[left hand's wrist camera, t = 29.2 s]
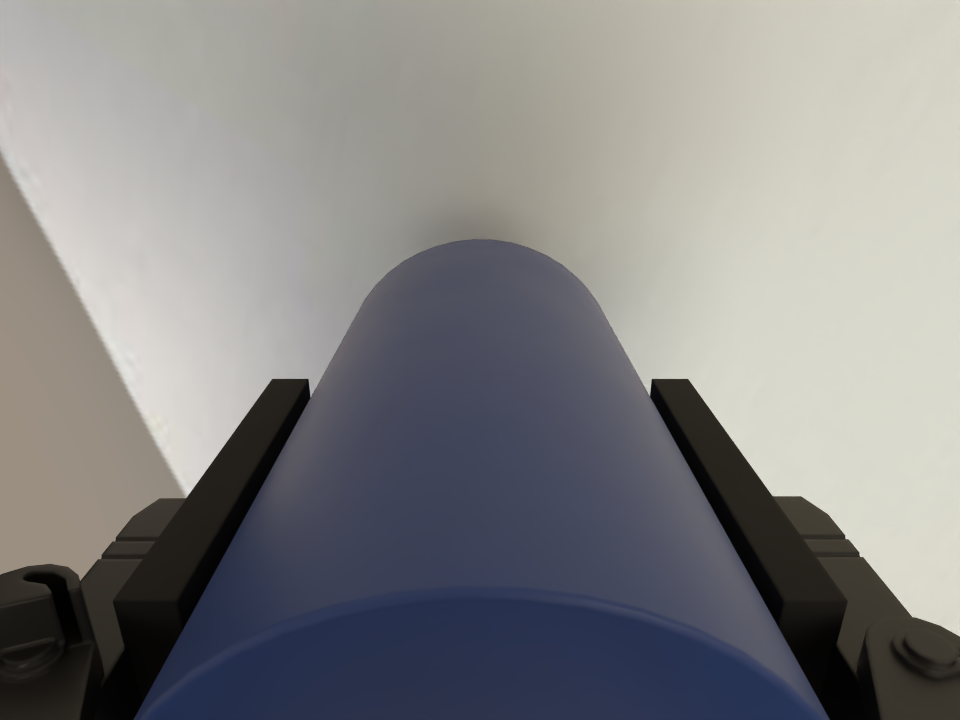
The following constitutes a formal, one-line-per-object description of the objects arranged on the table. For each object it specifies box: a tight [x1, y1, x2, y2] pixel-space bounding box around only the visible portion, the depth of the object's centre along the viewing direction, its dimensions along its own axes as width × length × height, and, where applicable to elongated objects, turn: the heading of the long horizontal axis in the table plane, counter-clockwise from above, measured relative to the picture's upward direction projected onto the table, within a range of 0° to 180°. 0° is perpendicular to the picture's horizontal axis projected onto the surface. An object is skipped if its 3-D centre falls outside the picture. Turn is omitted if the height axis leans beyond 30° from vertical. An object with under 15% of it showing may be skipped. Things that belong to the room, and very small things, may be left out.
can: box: [134, 239, 830, 720], centre depth 12 cm, size 7×7×13 cm
